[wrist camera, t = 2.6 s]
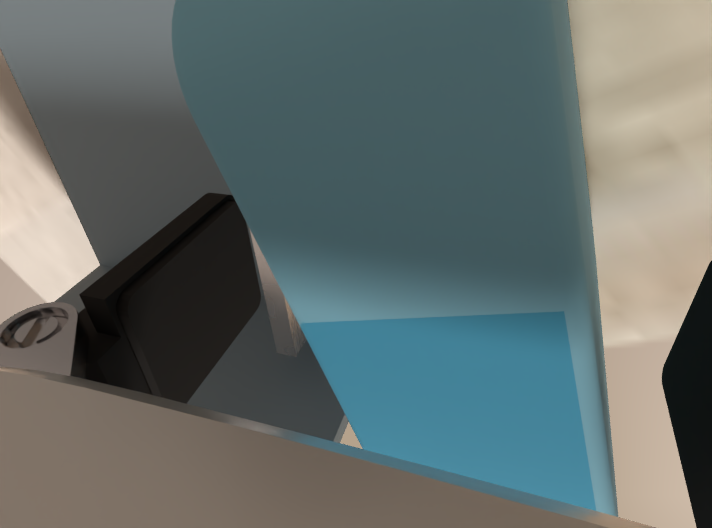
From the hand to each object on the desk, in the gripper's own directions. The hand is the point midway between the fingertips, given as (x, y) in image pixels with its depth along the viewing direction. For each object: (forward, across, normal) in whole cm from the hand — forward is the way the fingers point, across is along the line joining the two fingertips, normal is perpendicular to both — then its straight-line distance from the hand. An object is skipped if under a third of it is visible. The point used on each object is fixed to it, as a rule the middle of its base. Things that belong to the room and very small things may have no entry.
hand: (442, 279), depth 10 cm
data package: (+9, 0, -1) cm, 9 cm away
